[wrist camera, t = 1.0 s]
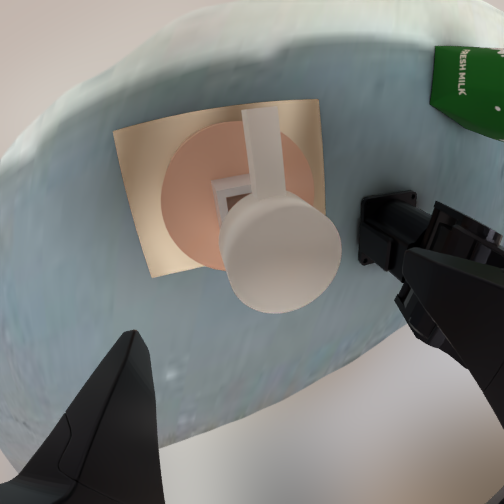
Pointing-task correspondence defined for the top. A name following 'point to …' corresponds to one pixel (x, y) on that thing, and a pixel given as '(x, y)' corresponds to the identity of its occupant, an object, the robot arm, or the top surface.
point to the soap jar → (217, 186)
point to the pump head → (275, 230)
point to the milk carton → (470, 88)
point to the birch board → (164, 146)
